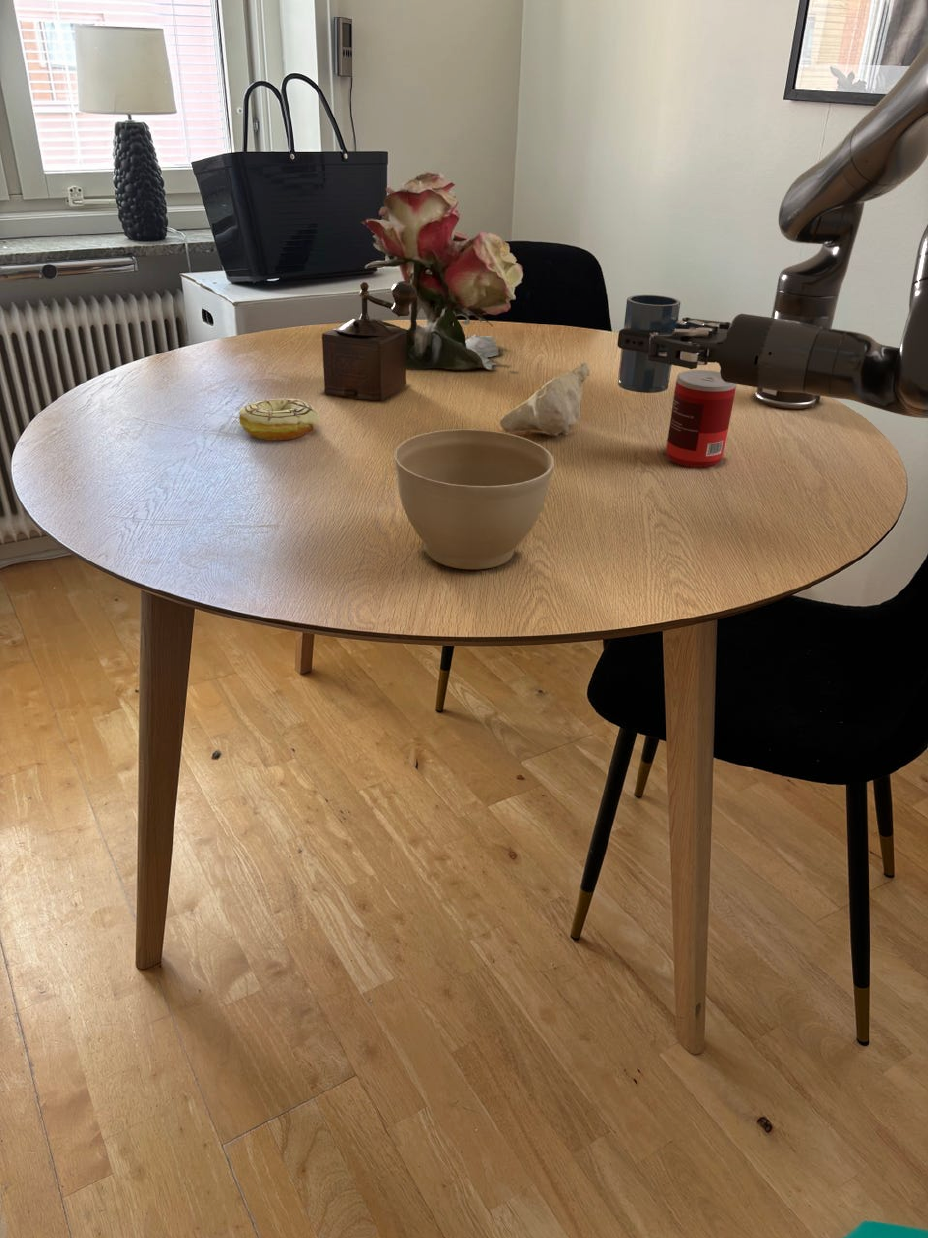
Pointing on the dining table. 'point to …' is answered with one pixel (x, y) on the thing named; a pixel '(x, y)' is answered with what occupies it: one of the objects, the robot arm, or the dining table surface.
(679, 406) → the canned food
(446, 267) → the rose bouquet
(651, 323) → the tumbler
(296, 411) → the decorated donut
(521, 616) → the dining table surface
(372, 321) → the manual coffee grinder
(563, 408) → the cream rock
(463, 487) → the planter bowl
